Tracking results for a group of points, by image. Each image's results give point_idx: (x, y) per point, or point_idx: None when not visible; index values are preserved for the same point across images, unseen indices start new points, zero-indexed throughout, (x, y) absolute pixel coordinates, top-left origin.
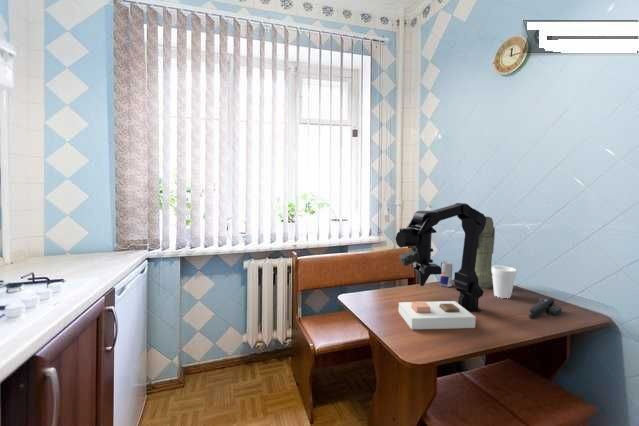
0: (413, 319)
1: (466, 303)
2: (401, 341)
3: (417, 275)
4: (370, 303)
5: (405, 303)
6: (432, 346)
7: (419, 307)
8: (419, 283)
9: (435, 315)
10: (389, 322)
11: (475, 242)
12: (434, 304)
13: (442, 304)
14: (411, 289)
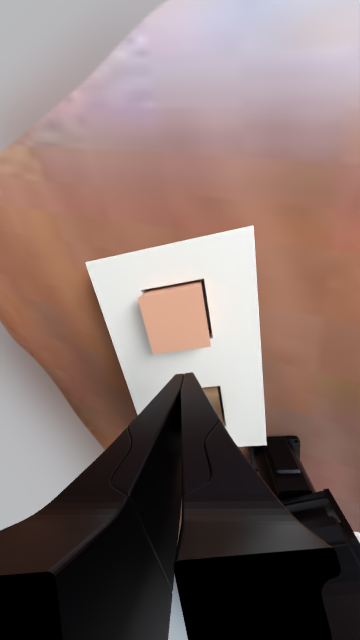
0: (89, 268)
1: (265, 464)
2: (21, 213)
3: (217, 431)
4: (356, 66)
5: (239, 259)
6: (31, 301)
7: (141, 309)
8: (194, 378)
9: (134, 353)
10: (141, 179)
11: None
12: (233, 376)
13: (212, 402)
14: None
